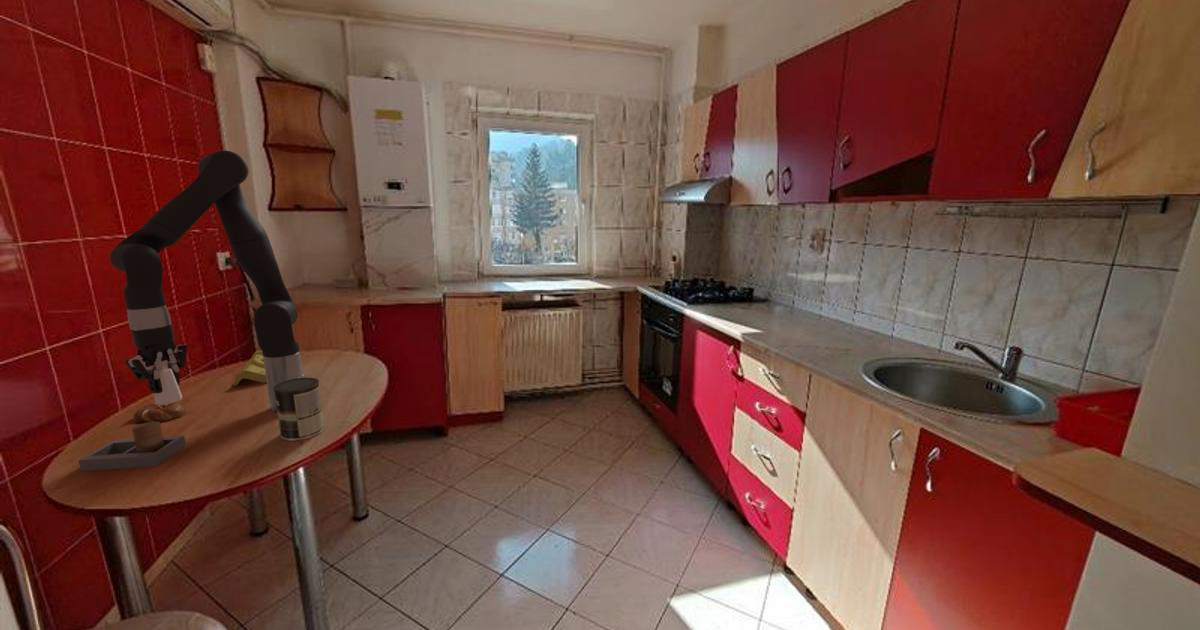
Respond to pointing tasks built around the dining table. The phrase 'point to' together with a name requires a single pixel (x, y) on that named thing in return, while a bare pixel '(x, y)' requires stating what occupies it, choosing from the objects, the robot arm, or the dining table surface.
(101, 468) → the grey rectangular open block
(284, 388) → the coffee can
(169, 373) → the salt shaker
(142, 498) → the dining table surface
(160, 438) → the fitted dowel
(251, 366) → the plastic component
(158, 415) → the bread roll
